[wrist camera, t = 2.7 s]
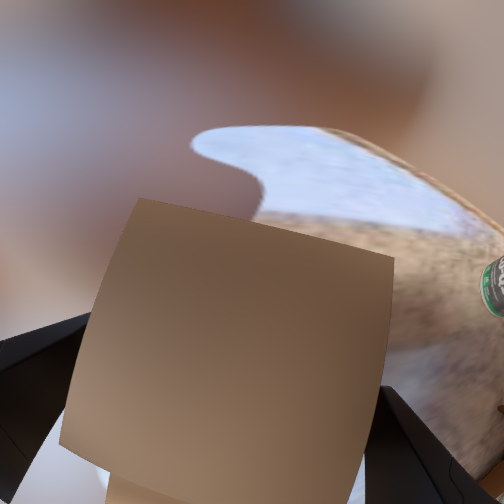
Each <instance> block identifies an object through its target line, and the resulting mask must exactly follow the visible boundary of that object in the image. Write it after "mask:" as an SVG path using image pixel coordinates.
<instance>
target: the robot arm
mask: <svg viewBox="0 0 504 504" xmlns="http://www.w3.org/2000/svg"><path fill="white" fill-rule="evenodd" d="M90 314H91V312H89V313H86V314H83V315H80V316H77V317H74V318H71V319H68V320H64V321H61V322H58V323H55V324H52V325H49V326H46V327H43V328H39V329H36V330H33V331H30V332H27V333H24V334H21V335H18V336H14V337H11V338H8V339H5V341H4V340H2V341H0V499H1V500H2V501H4V502H5V503H7V504H10V502H11V501H12V499H13V497H14V495H15V493H16V491H17V489H18V487H19V485H20V483H21V482H22V480H23V478H24V476H25V474H26V472H27V471H28V469H29V467H30V465H31V463H32V461H33V459H34V458H35V456H36V454H37V452H38V451H39V449H40V447H41V446H42V444H43V442H44V441H45V439H46V437H47V436H48V434H49V432H50V430H51V429H52V427H53V426H54V424H55V422H56V421H57V419H58V417H59V416H60V415H61V413H62V411H63V410H64V408H65V406H66V401H67V397H68V392H69V388H70V384H71V380H72V376H73V372H74V368H75V364H76V360H77V357H78V353H79V350H80V346H81V343H82V339H83V336H84V333H85V330H86V327H87V323H88V320H89V317H90ZM364 454H365V504H502V503H500V502H498V501H497V500H496V499H494V498H493V497H492V496H491V495H490V494H489V493H488V492H487V491H486V490H485V489H484V488H483V487H482V486H481V485H479V484H478V483H477V482H476V481H475V480H474V479H473V478H472V477H471V476H470V475H469V474H468V473H467V472H466V471H465V469H464V468H463V467H462V466H461V465H460V464H459V463H458V462H457V461H456V459H455V458H454V457H453V456H452V455H451V454H450V453H449V451H448V450H447V449H446V448H445V447H444V446H443V444H442V443H441V442H440V441H439V440H438V439H437V438H436V436H435V435H434V434H433V433H432V432H431V431H430V430H429V428H428V427H427V426H426V425H425V424H424V423H423V422H422V421H421V419H420V418H419V417H418V416H417V415H416V414H415V413H414V411H413V410H412V409H411V408H410V407H409V406H408V405H407V404H406V402H405V401H404V400H403V399H402V398H401V397H400V396H399V395H398V393H397V392H396V391H395V390H394V389H393V388H392V387H390V386H380V389H379V394H378V399H377V403H376V408H375V412H374V416H373V421H372V425H371V429H370V433H369V436H368V440H367V444H366V447H365V451H364ZM451 456H452V457H451Z"/></svg>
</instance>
